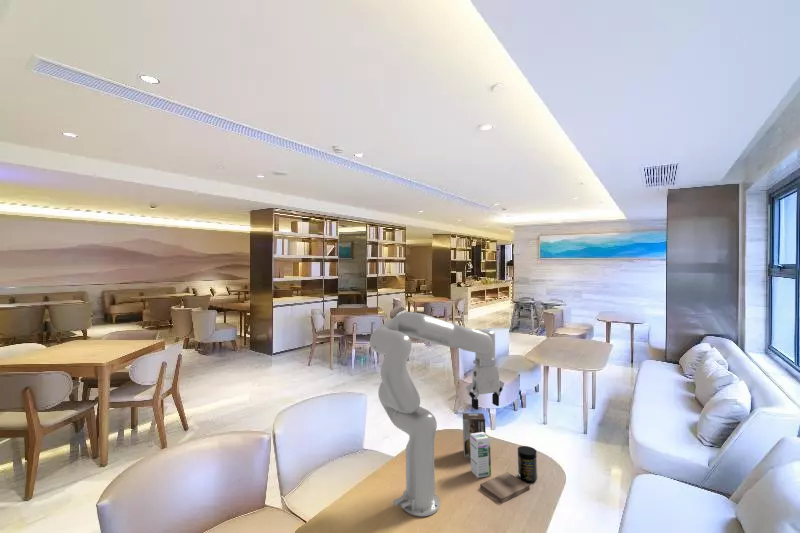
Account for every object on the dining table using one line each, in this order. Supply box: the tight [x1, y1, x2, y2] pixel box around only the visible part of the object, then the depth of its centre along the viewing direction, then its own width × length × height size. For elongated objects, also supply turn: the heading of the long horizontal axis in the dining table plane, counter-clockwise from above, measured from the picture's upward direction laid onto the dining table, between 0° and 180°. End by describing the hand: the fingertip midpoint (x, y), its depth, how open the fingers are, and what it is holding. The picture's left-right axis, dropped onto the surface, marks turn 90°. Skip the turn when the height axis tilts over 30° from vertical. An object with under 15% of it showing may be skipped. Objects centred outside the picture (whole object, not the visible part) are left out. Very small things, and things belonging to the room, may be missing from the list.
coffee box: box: [462, 412, 487, 459], centre depth 153 cm, size 9×6×16 cm
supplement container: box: [517, 445, 538, 484], centre depth 134 cm, size 7×7×10 cm
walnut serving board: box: [479, 472, 531, 504], centre depth 128 cm, size 14×10×2 cm
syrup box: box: [470, 432, 492, 479], centre depth 138 cm, size 6×6×14 cm
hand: (485, 406), depth 139 cm, fingers open, 9 cm apart
